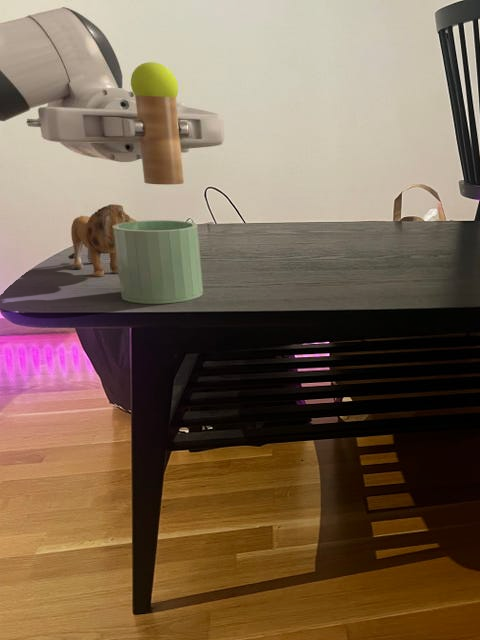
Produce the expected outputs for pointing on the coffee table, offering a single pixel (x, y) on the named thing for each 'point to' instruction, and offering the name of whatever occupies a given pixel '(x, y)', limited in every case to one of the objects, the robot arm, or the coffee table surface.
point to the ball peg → (158, 123)
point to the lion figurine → (97, 236)
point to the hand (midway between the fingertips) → (162, 129)
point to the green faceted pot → (158, 261)
